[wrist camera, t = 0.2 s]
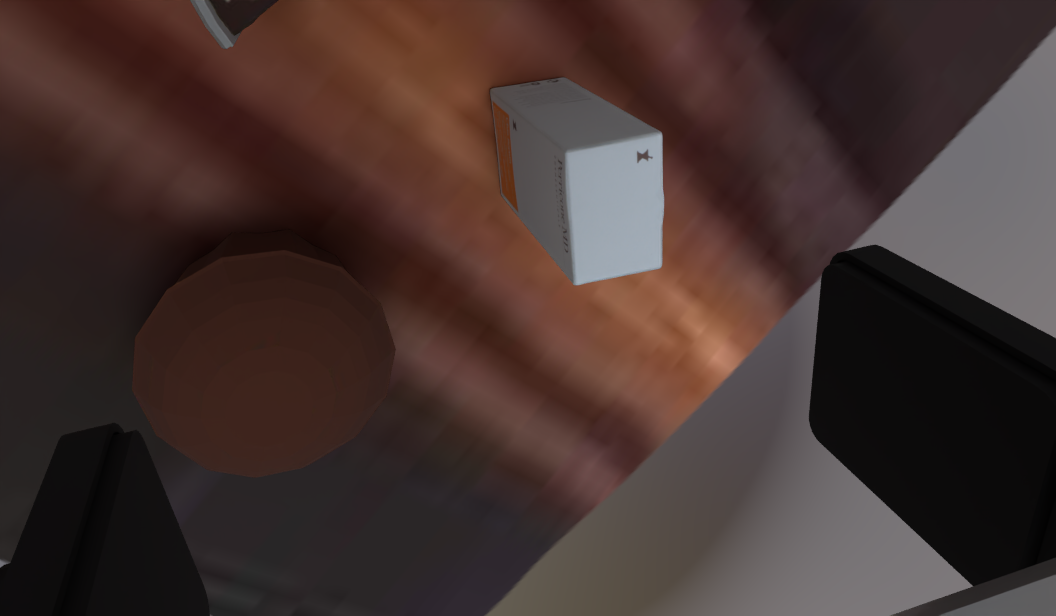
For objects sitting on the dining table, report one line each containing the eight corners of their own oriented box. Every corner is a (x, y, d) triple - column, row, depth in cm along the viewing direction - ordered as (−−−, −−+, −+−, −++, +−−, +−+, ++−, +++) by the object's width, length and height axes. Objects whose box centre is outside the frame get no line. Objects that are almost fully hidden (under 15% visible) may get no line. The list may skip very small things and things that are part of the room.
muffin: (230, 158, 37) (221, 229, 29) (417, 270, 43) (456, 358, 34) (107, 347, 40) (64, 466, 31) (299, 431, 45) (308, 551, 36)
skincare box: (485, 87, 40) (563, 146, 29) (564, 75, 40) (667, 128, 30) (498, 200, 42) (573, 290, 32) (571, 186, 43) (667, 269, 33)
